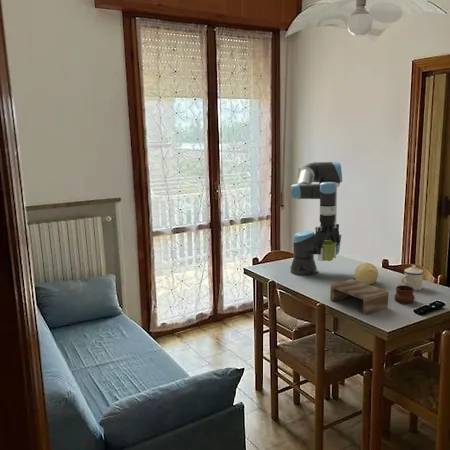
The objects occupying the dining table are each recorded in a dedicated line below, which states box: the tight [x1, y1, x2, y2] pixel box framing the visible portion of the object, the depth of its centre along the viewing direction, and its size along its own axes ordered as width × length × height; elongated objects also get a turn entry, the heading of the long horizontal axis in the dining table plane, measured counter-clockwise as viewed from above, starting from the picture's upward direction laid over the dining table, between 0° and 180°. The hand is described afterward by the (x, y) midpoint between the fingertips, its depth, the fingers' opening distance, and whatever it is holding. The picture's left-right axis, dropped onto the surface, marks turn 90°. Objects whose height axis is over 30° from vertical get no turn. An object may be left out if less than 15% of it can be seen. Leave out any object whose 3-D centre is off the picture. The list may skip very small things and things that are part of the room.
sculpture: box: [354, 262, 380, 285], centre depth 239 cm, size 12×12×11 cm
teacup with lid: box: [401, 264, 424, 291], centre depth 229 cm, size 12×9×12 cm
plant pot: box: [319, 240, 337, 262], centre depth 225 cm, size 9×9×9 cm
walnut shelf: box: [329, 278, 390, 316], centre depth 210 cm, size 22×14×8 cm, turn 32°
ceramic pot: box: [390, 284, 415, 305], centre depth 212 cm, size 18×18×7 cm
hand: (326, 258), depth 225 cm, fingers closed on plant pot, 8 cm apart
